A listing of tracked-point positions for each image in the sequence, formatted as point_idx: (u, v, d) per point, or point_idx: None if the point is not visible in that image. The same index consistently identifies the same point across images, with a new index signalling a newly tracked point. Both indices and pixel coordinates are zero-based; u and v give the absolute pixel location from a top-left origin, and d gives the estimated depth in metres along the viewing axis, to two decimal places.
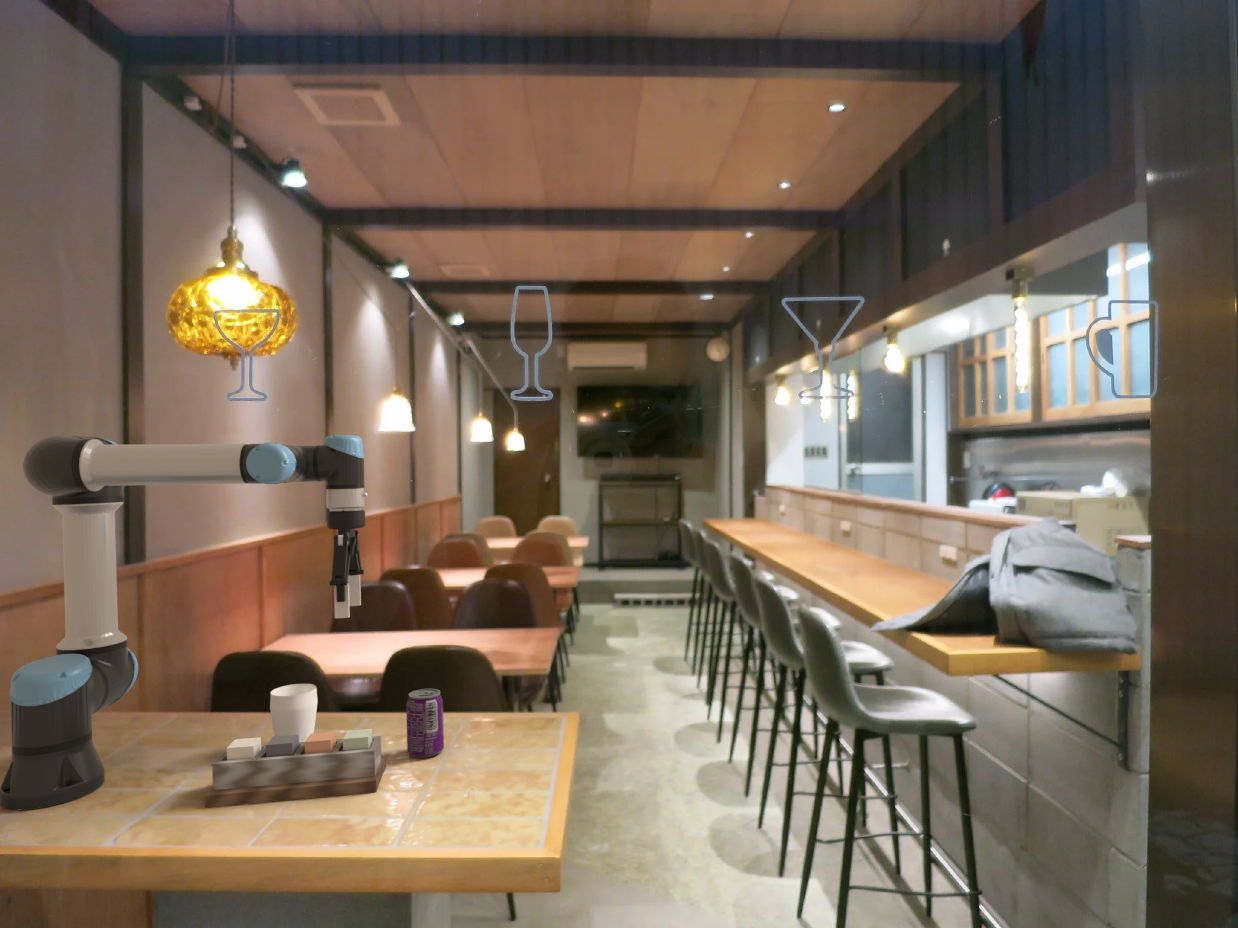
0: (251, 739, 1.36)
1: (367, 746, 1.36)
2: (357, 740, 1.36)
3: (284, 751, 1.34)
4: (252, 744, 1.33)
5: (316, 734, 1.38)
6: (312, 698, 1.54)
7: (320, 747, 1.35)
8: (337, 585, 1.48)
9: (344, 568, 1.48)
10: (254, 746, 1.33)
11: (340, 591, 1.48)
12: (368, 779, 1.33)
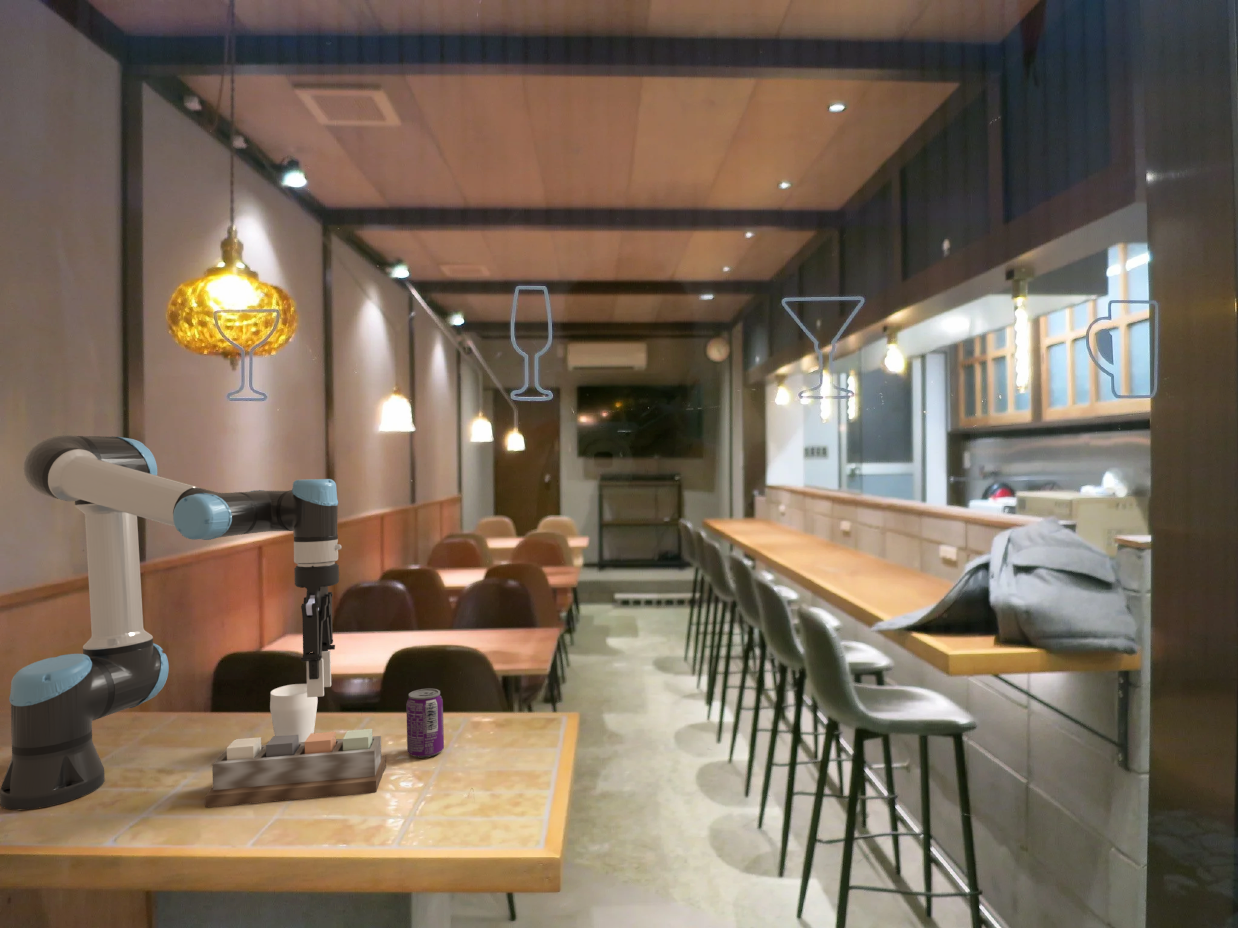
0: (251, 739, 1.36)
1: (367, 746, 1.36)
2: (357, 740, 1.36)
3: (284, 751, 1.34)
4: (252, 744, 1.33)
5: (316, 734, 1.38)
6: (312, 698, 1.54)
7: (320, 747, 1.35)
8: (309, 661, 1.32)
9: (316, 643, 1.31)
10: (254, 746, 1.33)
11: (313, 667, 1.32)
12: (368, 779, 1.33)
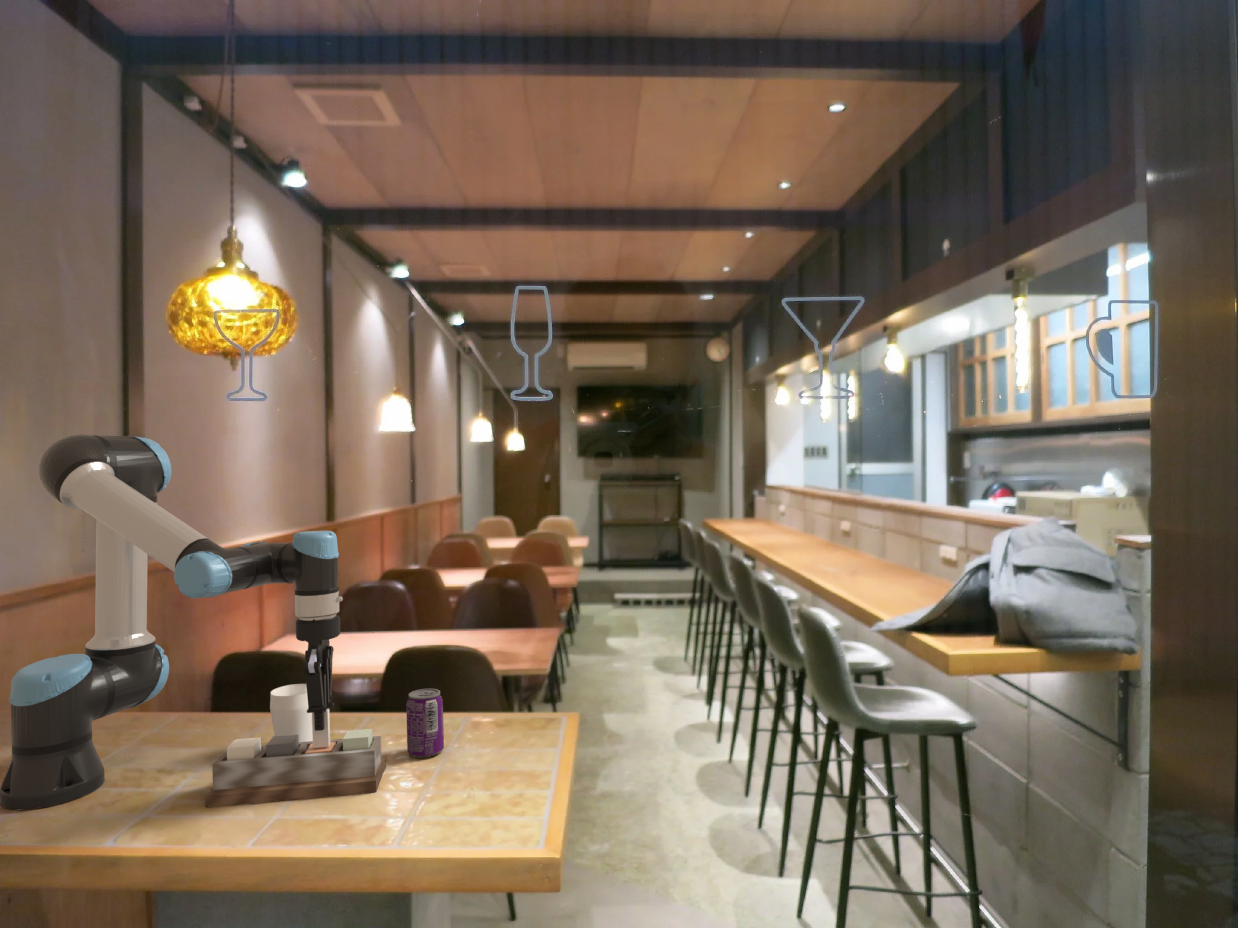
0: (251, 739, 1.36)
1: (367, 746, 1.36)
2: (357, 740, 1.36)
3: (284, 751, 1.34)
4: (252, 744, 1.33)
5: None
6: None
7: None
8: (315, 712, 1.35)
9: (321, 697, 1.33)
10: (254, 746, 1.33)
11: (318, 719, 1.35)
12: (368, 779, 1.33)
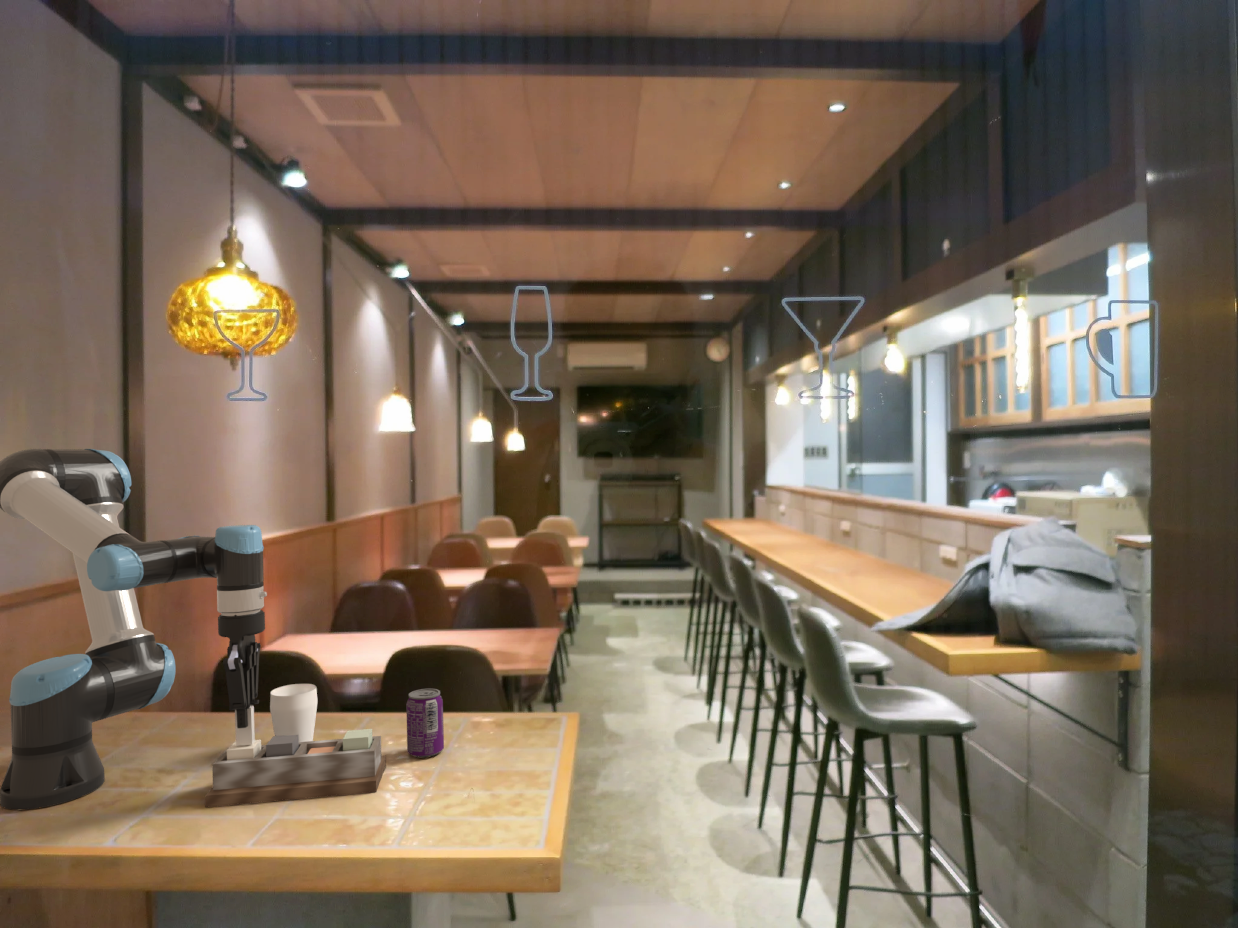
0: None
1: (367, 746, 1.36)
2: (357, 740, 1.36)
3: (284, 751, 1.34)
4: (252, 746, 1.33)
5: (316, 749, 1.38)
6: (312, 698, 1.54)
7: None
8: (237, 710, 1.32)
9: (242, 694, 1.31)
10: (254, 749, 1.33)
11: (241, 716, 1.33)
12: (368, 779, 1.33)
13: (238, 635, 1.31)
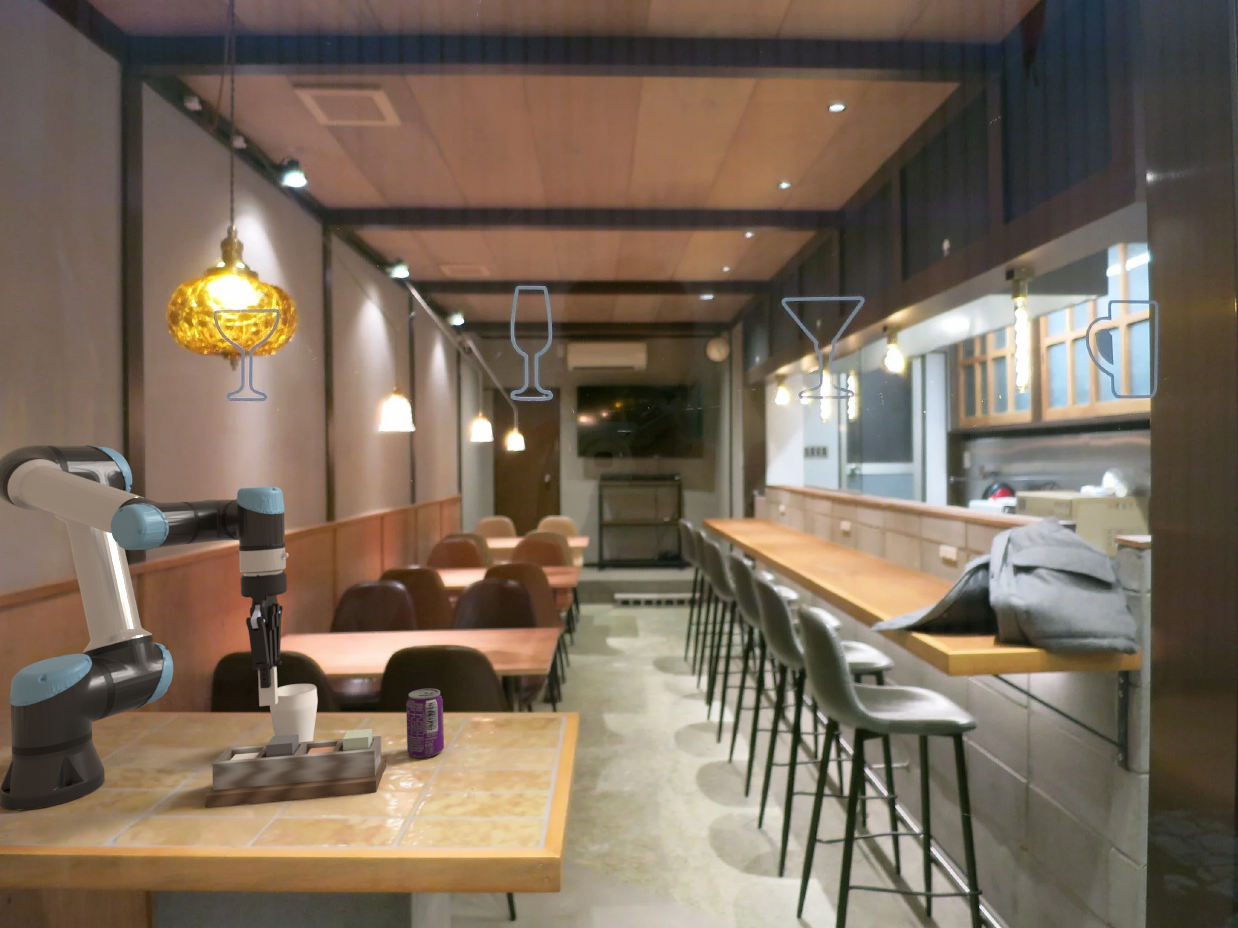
0: (251, 754, 1.36)
1: (367, 746, 1.36)
2: (357, 740, 1.36)
3: (284, 751, 1.34)
4: None
5: (316, 749, 1.38)
6: (312, 698, 1.54)
7: None
8: (260, 670, 1.33)
9: (265, 654, 1.31)
10: None
11: (264, 676, 1.33)
12: (368, 779, 1.33)
13: (260, 595, 1.32)
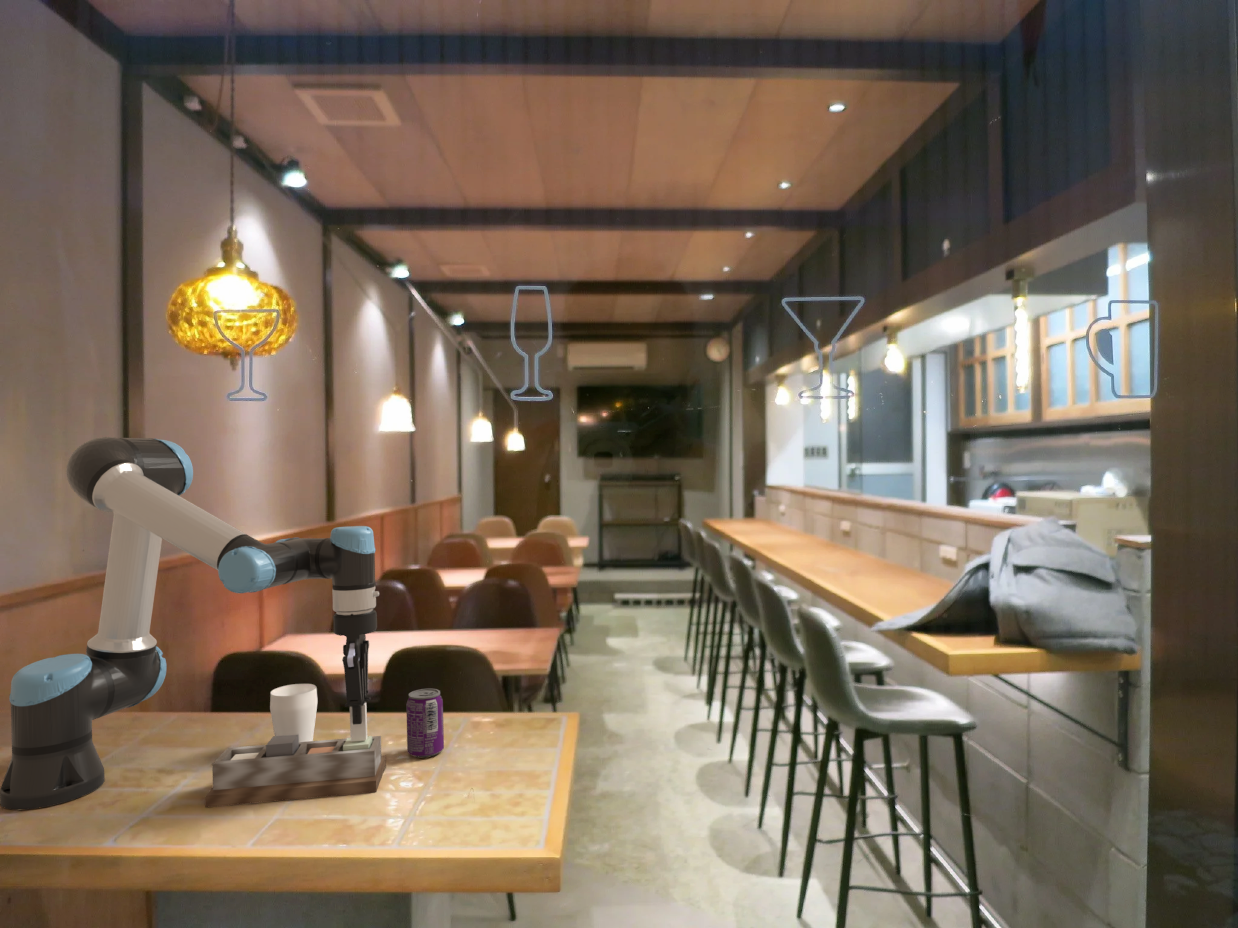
0: (251, 754, 1.36)
1: None
2: (358, 747, 1.36)
3: (284, 751, 1.34)
4: None
5: (316, 749, 1.38)
6: (312, 698, 1.54)
7: None
8: (353, 706, 1.36)
9: (359, 691, 1.34)
10: None
11: (356, 713, 1.36)
12: (368, 779, 1.33)
13: (355, 634, 1.34)
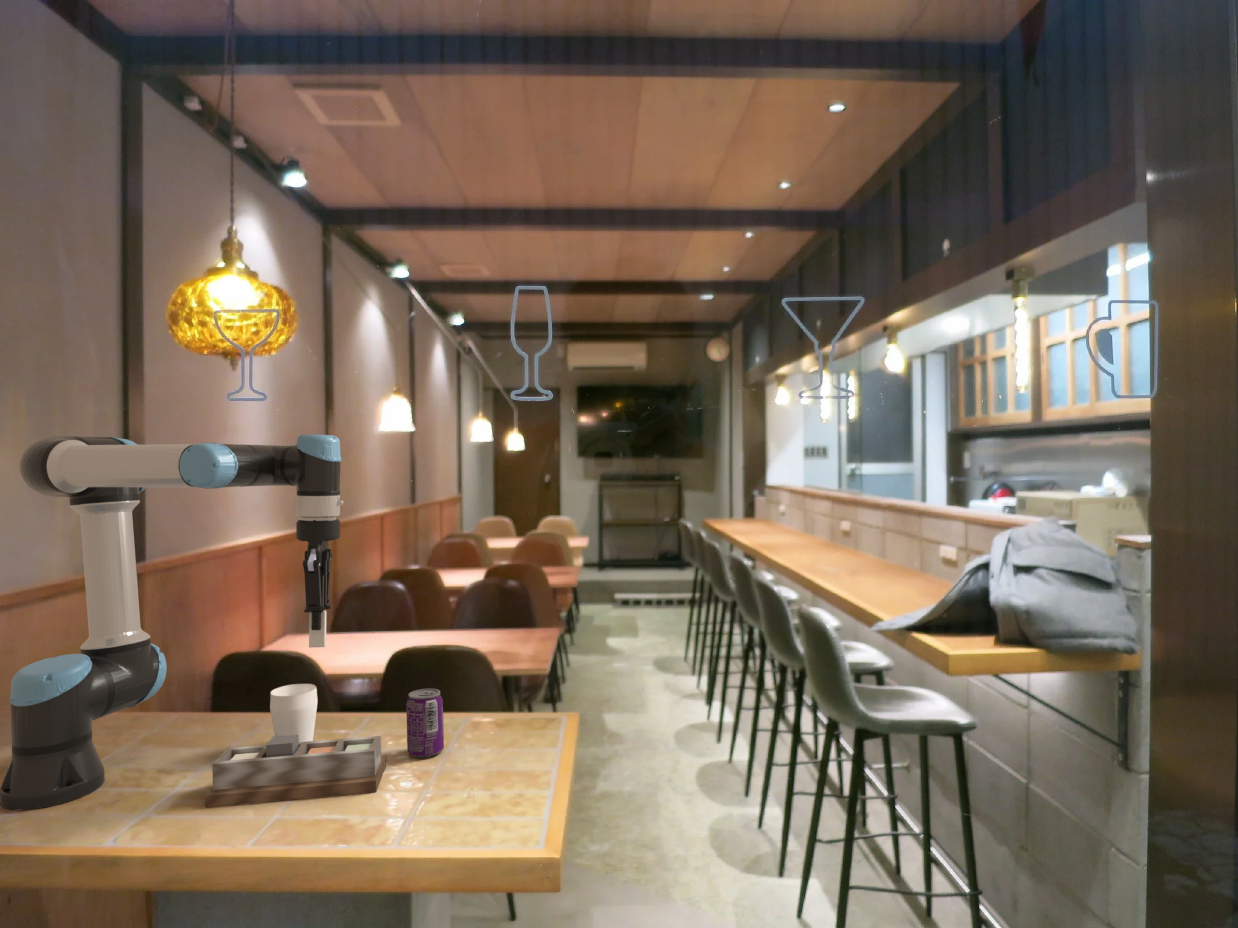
0: (251, 754, 1.36)
1: None
2: None
3: (284, 751, 1.34)
4: None
5: (316, 749, 1.38)
6: (312, 698, 1.54)
7: None
8: (312, 612, 1.37)
9: (318, 596, 1.35)
10: None
11: (315, 618, 1.37)
12: (368, 779, 1.33)
13: (317, 539, 1.35)
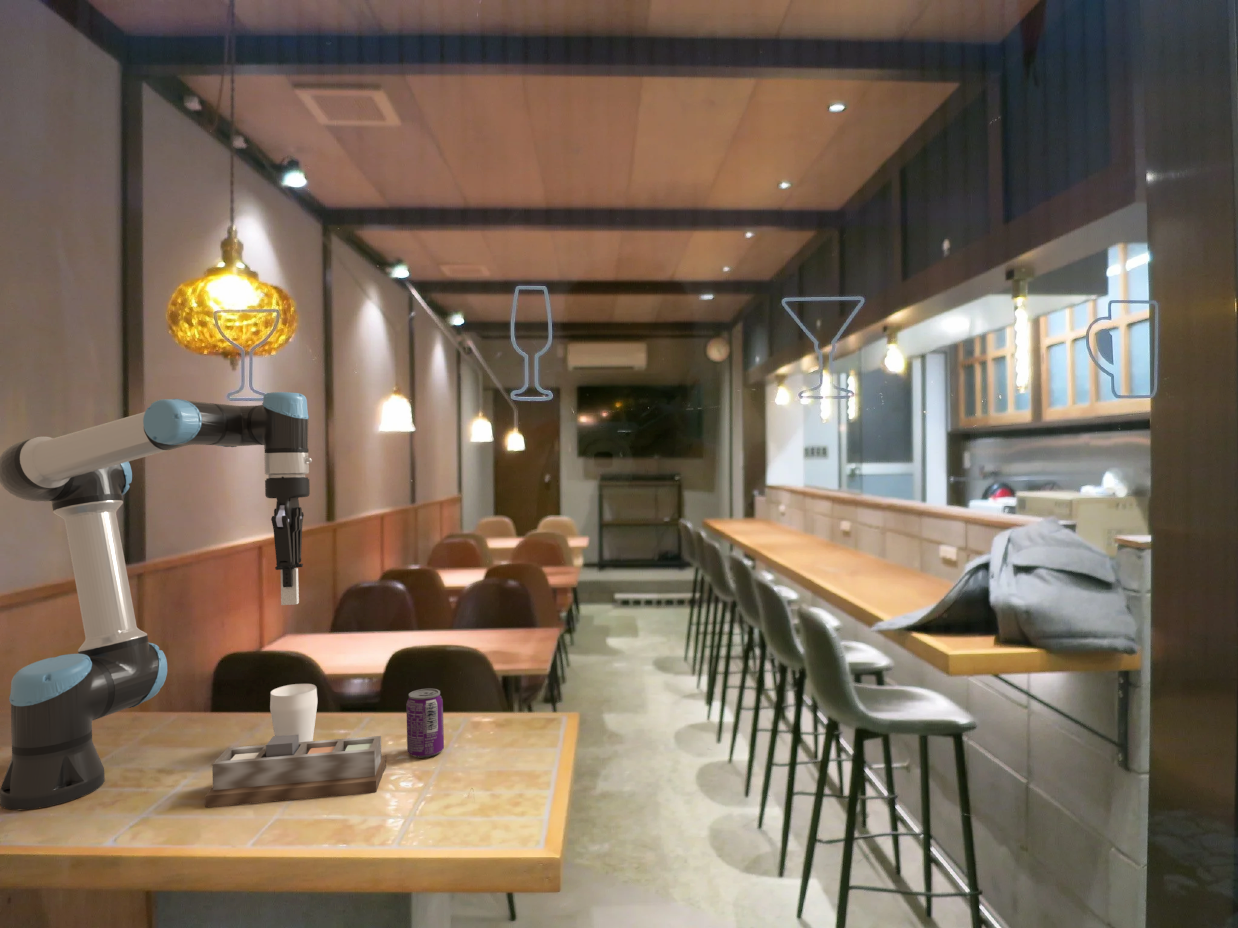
0: (251, 754, 1.36)
1: None
2: None
3: (284, 751, 1.34)
4: None
5: (316, 749, 1.38)
6: (312, 698, 1.54)
7: None
8: (283, 569, 1.37)
9: (289, 553, 1.35)
10: None
11: (287, 576, 1.37)
12: (368, 779, 1.33)
13: (285, 496, 1.36)
